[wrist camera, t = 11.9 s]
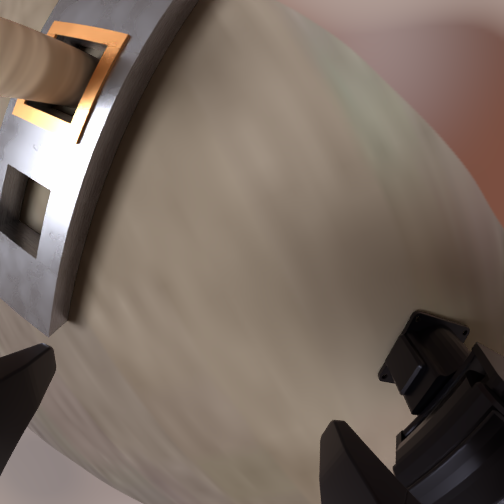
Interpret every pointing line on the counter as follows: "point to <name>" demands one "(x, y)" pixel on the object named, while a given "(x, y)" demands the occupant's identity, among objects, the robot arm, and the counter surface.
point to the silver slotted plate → (74, 147)
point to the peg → (42, 66)
